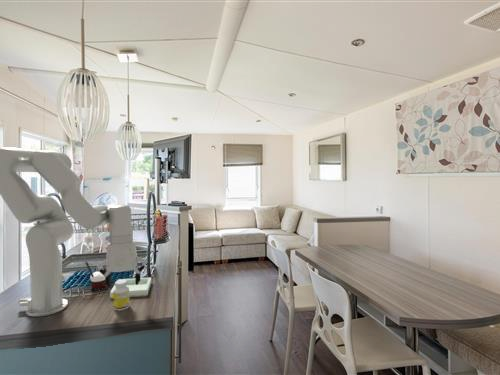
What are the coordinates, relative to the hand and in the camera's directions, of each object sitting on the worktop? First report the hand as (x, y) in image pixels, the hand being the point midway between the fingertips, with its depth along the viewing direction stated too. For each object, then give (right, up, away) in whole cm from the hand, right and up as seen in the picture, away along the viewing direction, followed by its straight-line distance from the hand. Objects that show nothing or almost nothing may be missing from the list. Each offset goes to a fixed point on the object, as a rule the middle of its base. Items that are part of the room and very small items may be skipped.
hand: (123, 284), depth 108 cm
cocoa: (-19, -8, +19) cm, 28 cm away
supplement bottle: (-1, -9, +1) cm, 9 cm away
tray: (-3, -8, +16) cm, 18 cm away
